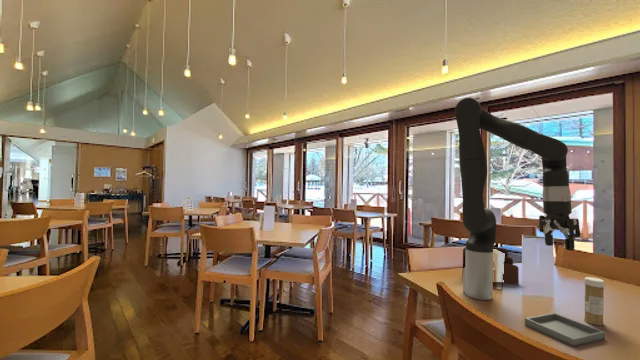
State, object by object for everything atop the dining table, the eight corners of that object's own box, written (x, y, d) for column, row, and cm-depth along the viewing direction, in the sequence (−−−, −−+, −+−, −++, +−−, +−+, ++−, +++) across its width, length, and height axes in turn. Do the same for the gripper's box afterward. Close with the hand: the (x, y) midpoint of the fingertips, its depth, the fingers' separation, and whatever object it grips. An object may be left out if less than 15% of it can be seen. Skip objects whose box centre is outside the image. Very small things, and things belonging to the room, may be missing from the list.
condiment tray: (524, 324, 90) (524, 318, 90) (554, 319, 94) (554, 312, 95) (573, 347, 78) (574, 339, 78) (604, 339, 82) (604, 332, 82)
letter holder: (462, 275, 140) (462, 245, 140) (506, 277, 138) (507, 246, 139) (470, 282, 130) (471, 249, 131) (519, 284, 128) (519, 251, 129)
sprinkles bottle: (584, 318, 96) (584, 275, 96) (604, 322, 93) (604, 279, 93) (583, 322, 92) (584, 278, 93) (604, 327, 89) (604, 282, 90)
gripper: (530, 199, 109) (533, 244, 108) (562, 200, 95) (565, 252, 94) (551, 198, 109) (553, 243, 109) (586, 200, 95) (589, 251, 94)
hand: (559, 247), depth 101 cm, fingers open, 8 cm apart
